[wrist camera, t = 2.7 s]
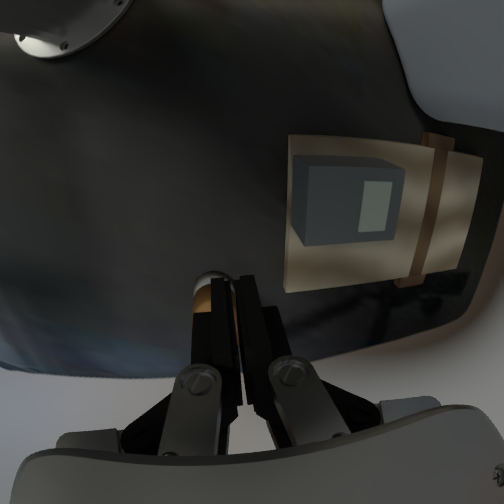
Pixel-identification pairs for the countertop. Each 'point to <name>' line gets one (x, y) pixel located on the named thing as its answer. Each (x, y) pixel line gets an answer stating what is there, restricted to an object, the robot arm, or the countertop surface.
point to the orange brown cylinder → (204, 294)
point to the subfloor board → (409, 220)
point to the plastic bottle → (452, 57)
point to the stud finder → (345, 199)
